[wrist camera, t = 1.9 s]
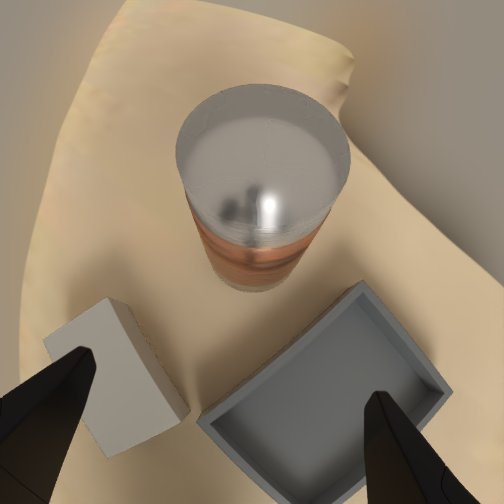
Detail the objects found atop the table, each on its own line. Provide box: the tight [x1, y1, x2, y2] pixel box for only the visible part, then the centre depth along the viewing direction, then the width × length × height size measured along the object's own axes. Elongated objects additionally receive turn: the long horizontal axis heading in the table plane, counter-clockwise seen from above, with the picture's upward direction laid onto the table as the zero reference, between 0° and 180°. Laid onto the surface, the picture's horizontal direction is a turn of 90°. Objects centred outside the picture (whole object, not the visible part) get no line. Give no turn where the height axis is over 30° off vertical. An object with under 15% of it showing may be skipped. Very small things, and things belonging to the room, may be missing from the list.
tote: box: [196, 280, 453, 504], centre depth 19 cm, size 14×11×3 cm
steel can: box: [176, 84, 351, 292], centre depth 18 cm, size 7×7×13 cm
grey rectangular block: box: [43, 297, 190, 459], centre depth 19 cm, size 6×9×4 cm, turn 33°
